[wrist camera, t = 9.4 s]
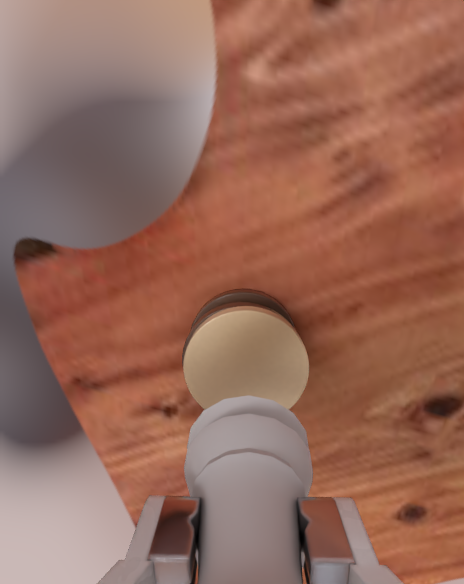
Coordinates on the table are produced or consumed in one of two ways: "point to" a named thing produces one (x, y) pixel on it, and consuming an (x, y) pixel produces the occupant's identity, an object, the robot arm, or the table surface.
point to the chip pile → (244, 351)
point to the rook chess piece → (248, 491)
